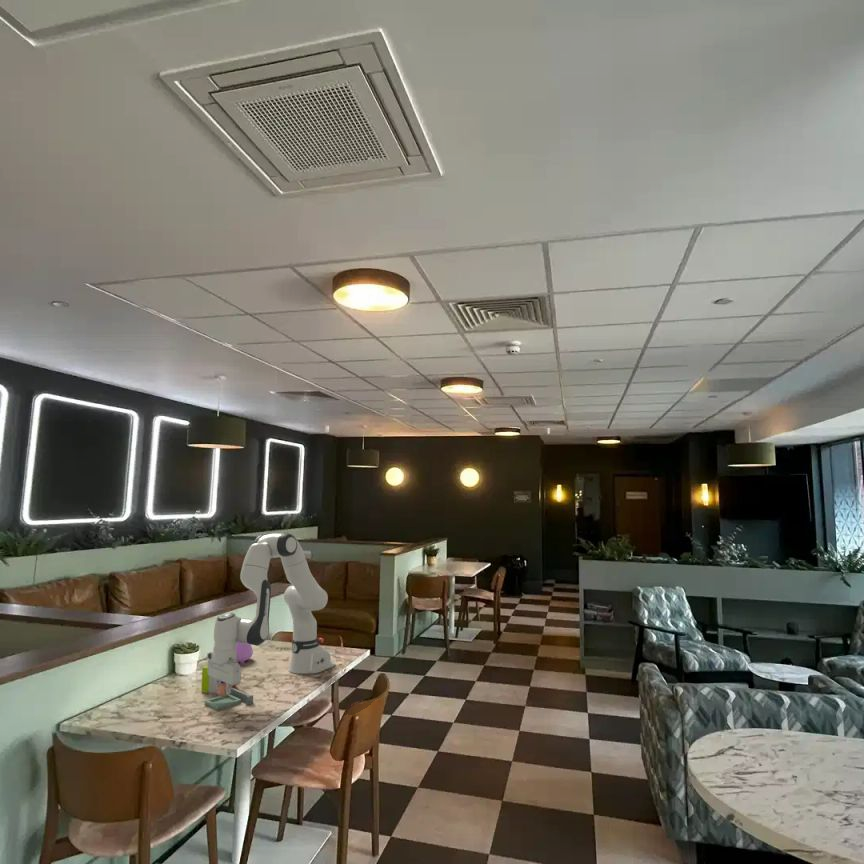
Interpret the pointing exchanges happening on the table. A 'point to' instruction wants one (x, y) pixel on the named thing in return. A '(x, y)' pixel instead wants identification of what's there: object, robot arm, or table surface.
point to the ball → (221, 689)
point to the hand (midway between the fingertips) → (223, 691)
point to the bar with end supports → (242, 696)
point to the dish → (222, 702)
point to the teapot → (243, 652)
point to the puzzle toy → (209, 682)
